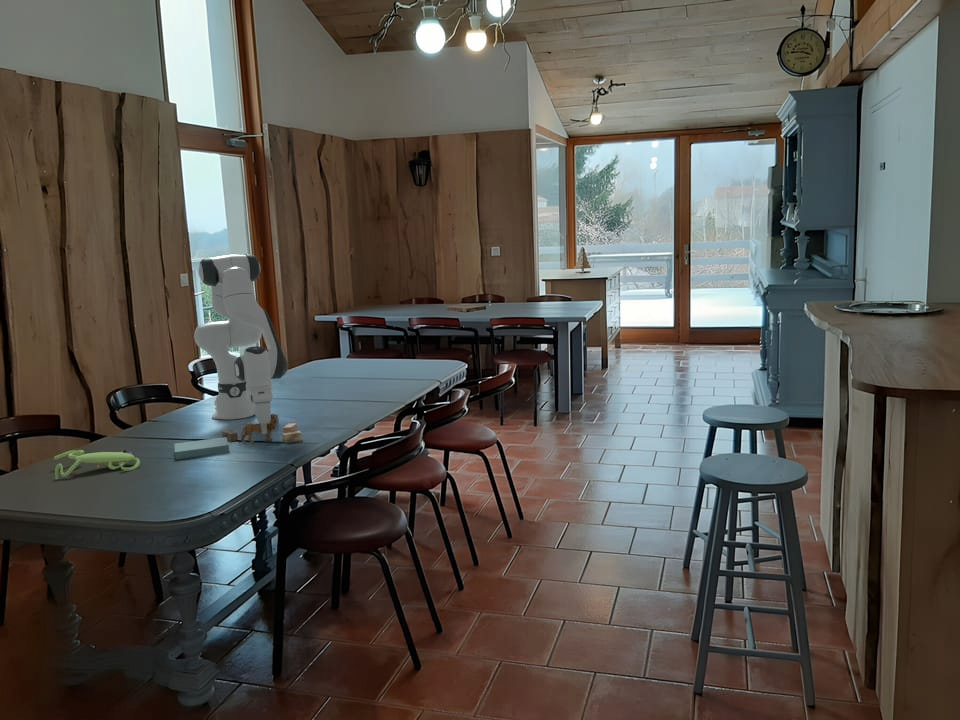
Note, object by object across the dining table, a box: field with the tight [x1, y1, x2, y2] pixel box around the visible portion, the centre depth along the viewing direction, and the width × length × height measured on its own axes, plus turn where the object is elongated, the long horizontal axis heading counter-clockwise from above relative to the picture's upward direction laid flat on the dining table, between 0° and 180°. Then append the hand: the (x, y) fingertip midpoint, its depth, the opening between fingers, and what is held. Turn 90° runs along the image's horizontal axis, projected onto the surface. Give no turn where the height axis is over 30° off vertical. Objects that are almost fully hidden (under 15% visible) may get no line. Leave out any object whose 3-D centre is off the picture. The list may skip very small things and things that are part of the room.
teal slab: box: [174, 436, 230, 460], centre depth 266 cm, size 12×17×2 cm
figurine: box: [53, 449, 141, 481], centre depth 252 cm, size 18×27×6 cm
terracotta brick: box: [282, 423, 298, 434], centre depth 286 cm, size 6×3×3 cm, turn 174°
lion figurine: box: [238, 413, 280, 444], centre depth 276 cm, size 15×5×9 cm, turn 120°
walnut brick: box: [221, 429, 239, 442], centre depth 281 cm, size 6×3×3 cm, turn 45°
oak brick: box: [281, 430, 303, 444], centre depth 275 cm, size 6×3×3 cm, turn 121°
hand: (263, 431), depth 277 cm, fingers closed on lion figurine, 4 cm apart
